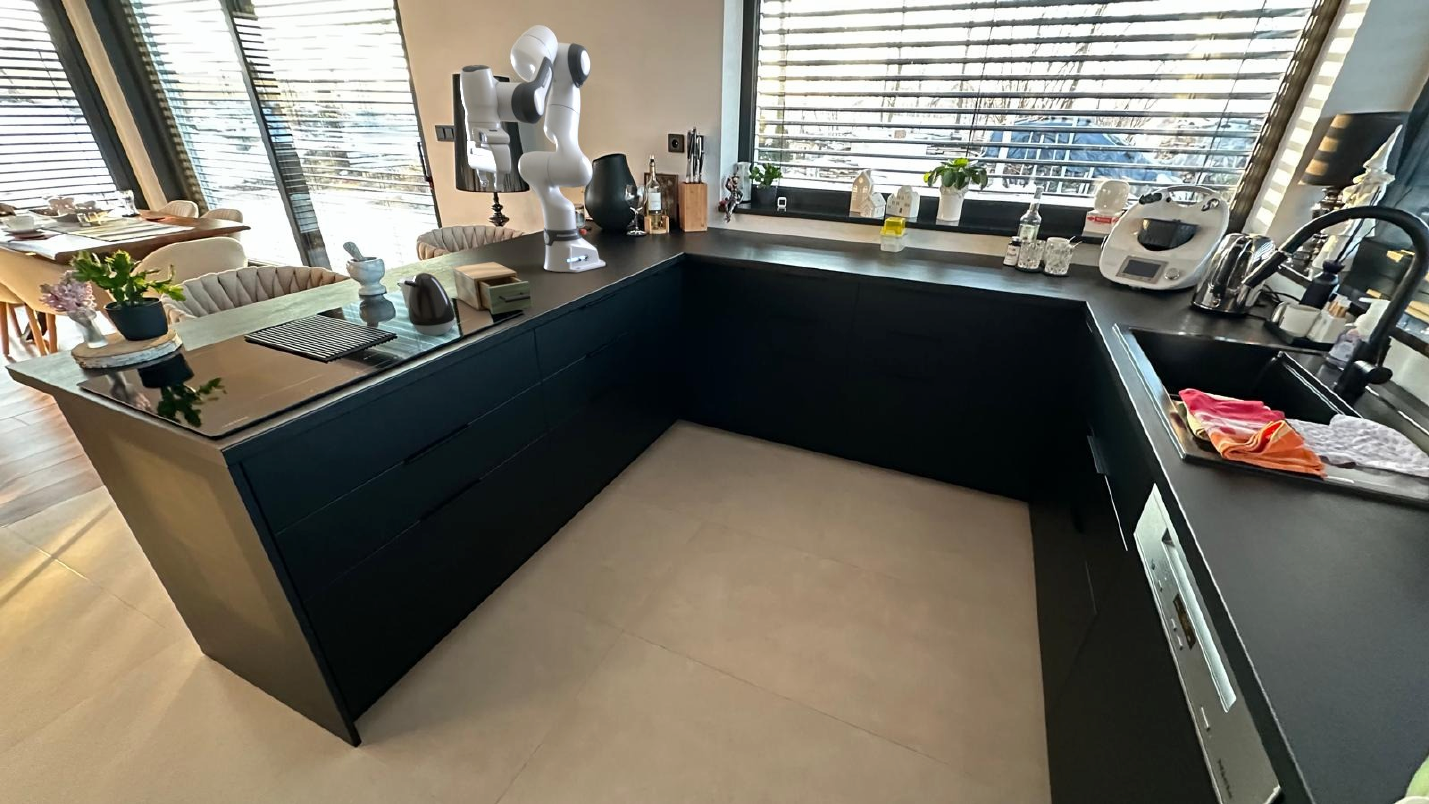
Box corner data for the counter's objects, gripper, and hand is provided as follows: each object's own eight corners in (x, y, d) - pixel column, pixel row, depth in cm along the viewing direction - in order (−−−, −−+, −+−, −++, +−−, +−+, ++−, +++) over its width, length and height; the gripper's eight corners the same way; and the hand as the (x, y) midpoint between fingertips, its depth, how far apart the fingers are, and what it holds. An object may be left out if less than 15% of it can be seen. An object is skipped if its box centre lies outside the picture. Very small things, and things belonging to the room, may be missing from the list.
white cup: (432, 309, 157) (425, 274, 152) (443, 316, 152) (436, 280, 147) (402, 315, 152) (394, 279, 147) (413, 322, 147) (404, 285, 142)
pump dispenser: (403, 334, 139) (389, 274, 132) (439, 323, 147) (427, 265, 140) (430, 342, 135) (418, 280, 128) (466, 330, 143) (455, 271, 136)
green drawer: (539, 311, 156) (536, 285, 153) (500, 318, 149) (496, 292, 146) (509, 295, 169) (506, 271, 165) (471, 301, 162) (467, 276, 158)
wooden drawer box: (520, 302, 165) (516, 272, 161) (478, 310, 158) (473, 278, 154) (498, 290, 175) (494, 261, 171) (457, 297, 168) (452, 267, 164)
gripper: (458, 132, 155) (466, 185, 161) (488, 135, 142) (496, 193, 148) (480, 132, 159) (487, 184, 165) (512, 136, 146) (518, 192, 152)
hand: (492, 188), depth 157 cm, fingers open, 8 cm apart
